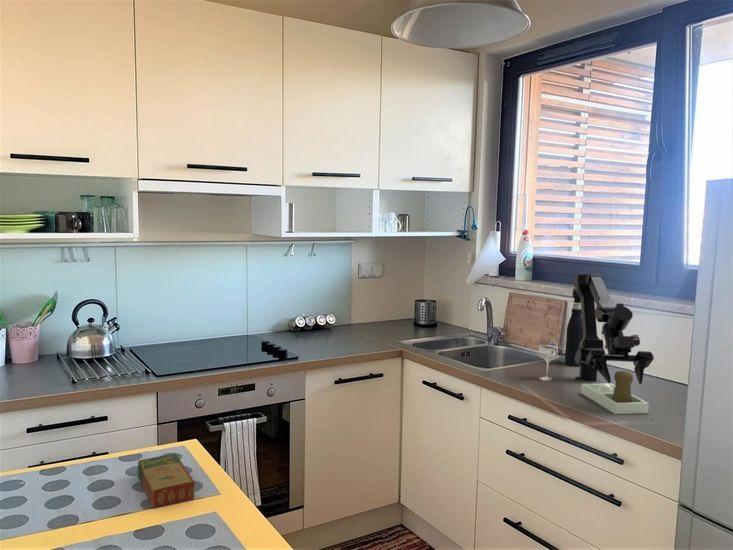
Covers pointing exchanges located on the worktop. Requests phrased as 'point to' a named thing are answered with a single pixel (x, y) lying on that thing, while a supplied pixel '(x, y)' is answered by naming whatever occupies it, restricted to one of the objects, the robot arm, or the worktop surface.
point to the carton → (165, 480)
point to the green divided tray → (608, 403)
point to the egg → (605, 388)
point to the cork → (622, 387)
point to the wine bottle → (574, 332)
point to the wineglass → (548, 355)
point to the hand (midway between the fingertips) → (625, 383)
